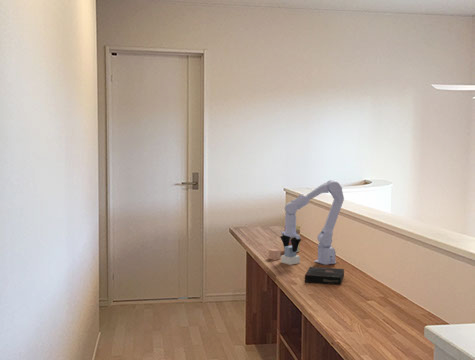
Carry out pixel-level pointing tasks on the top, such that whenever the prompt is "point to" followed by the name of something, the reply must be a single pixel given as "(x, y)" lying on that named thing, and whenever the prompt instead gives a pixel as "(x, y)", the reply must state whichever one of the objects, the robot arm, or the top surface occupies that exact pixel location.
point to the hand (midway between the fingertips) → (290, 250)
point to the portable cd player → (324, 275)
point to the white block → (290, 259)
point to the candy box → (293, 238)
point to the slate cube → (289, 251)
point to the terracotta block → (274, 254)
